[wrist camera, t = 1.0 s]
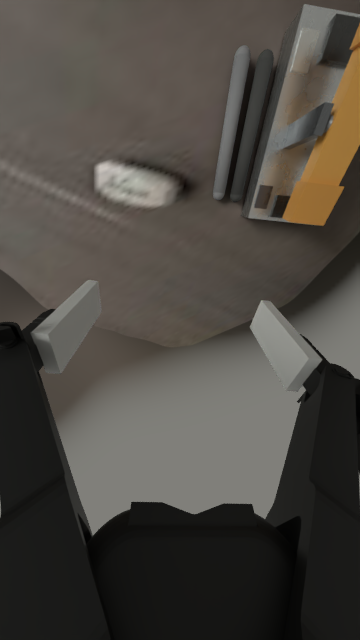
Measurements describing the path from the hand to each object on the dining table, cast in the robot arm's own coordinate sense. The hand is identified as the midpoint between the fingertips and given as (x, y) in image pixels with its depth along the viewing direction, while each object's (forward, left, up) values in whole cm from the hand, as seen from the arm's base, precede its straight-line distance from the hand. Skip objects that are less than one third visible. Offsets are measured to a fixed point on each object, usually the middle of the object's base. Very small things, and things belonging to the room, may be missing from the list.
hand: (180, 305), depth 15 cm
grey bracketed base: (-16, +17, -25) cm, 34 cm away
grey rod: (-16, +6, -25) cm, 30 cm away
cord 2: (-16, +9, -25) cm, 31 cm away
